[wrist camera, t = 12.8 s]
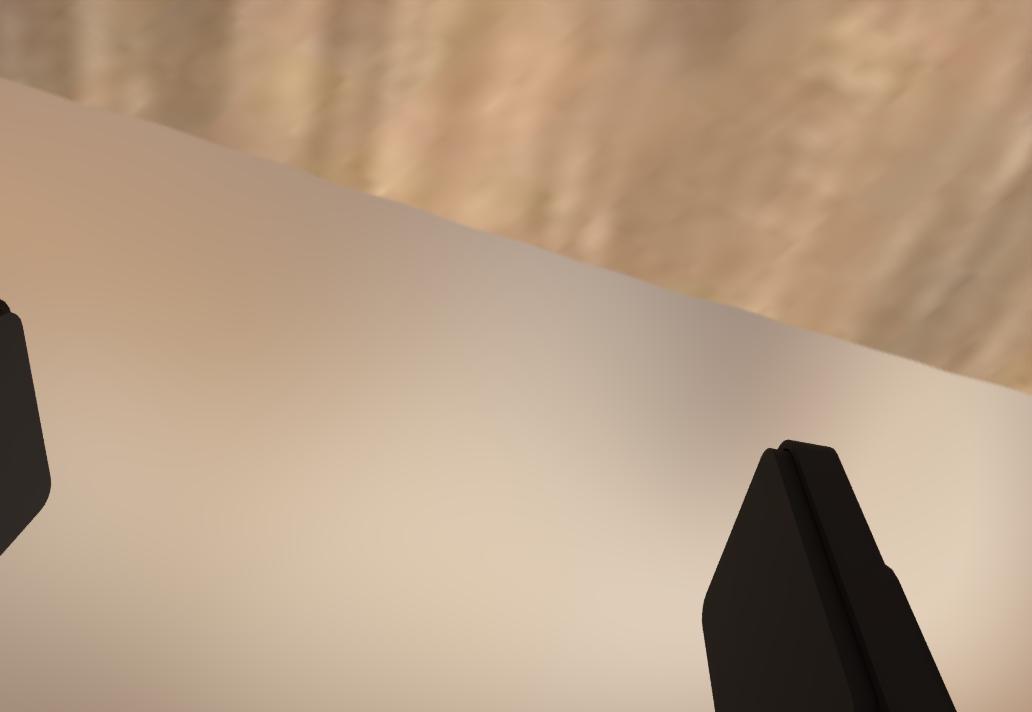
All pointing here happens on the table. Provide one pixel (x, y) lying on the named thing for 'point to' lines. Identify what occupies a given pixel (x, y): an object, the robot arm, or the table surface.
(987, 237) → the table surface
